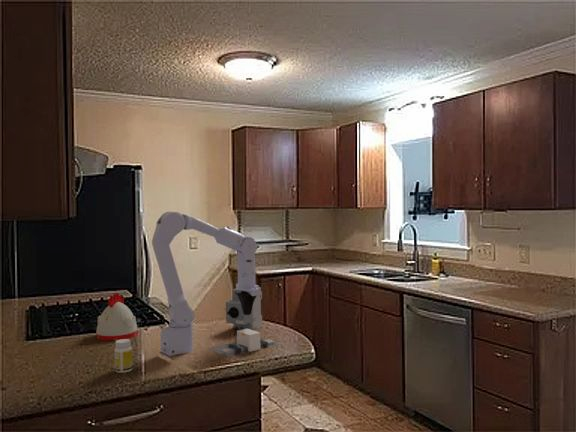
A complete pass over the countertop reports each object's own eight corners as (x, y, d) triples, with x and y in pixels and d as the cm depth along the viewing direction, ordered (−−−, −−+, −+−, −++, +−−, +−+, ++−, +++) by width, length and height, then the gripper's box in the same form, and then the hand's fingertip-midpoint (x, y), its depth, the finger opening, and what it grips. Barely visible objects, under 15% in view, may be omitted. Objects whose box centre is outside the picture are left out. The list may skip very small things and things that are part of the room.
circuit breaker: (223, 334, 185) (222, 292, 184) (245, 325, 197) (244, 286, 197) (241, 336, 181) (240, 293, 181) (262, 327, 194) (261, 287, 193)
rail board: (227, 360, 155) (227, 351, 155) (206, 351, 164) (206, 343, 164) (280, 347, 168) (280, 339, 168) (258, 339, 177) (258, 332, 177)
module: (249, 351, 160) (249, 334, 160) (237, 346, 165) (236, 330, 165) (260, 349, 162) (260, 332, 162) (247, 344, 168) (247, 328, 168)
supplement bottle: (134, 367, 149) (133, 338, 149) (130, 373, 145) (129, 342, 144) (117, 367, 149) (116, 338, 149) (112, 373, 145) (111, 343, 144)
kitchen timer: (87, 339, 181) (86, 296, 181) (113, 329, 194) (112, 289, 194) (121, 342, 177) (120, 298, 176) (145, 332, 190) (144, 290, 189)
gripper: (266, 274, 166) (267, 317, 166) (249, 269, 179) (250, 308, 179) (245, 276, 163) (246, 319, 163) (230, 271, 176) (230, 311, 176)
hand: (247, 314), depth 171 cm, fingers closed
